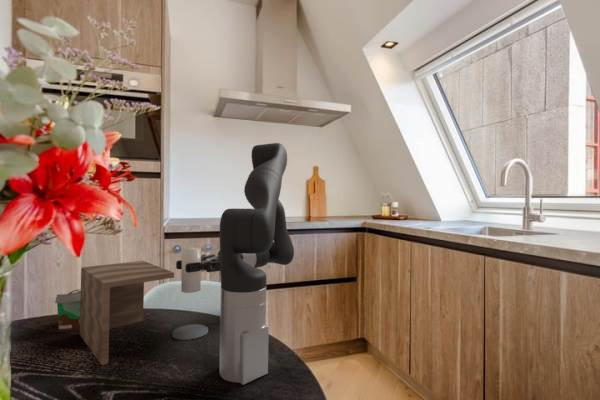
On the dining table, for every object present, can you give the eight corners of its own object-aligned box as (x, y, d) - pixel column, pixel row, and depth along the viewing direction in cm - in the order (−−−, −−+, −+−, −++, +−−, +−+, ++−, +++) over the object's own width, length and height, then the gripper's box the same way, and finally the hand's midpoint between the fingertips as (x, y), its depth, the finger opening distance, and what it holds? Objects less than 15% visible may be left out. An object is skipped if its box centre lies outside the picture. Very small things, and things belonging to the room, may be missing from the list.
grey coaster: (214, 333, 83) (214, 331, 83) (181, 343, 77) (181, 341, 77) (198, 323, 90) (198, 321, 90) (166, 332, 83) (166, 330, 83)
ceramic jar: (203, 290, 83) (204, 248, 83) (186, 293, 80) (187, 250, 80) (195, 286, 87) (195, 246, 87) (178, 290, 83) (178, 248, 83)
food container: (77, 334, 81) (78, 295, 81) (54, 334, 81) (55, 295, 81) (108, 317, 94) (108, 283, 94) (87, 317, 94) (88, 283, 94)
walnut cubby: (172, 343, 77) (174, 272, 77) (101, 365, 66) (103, 282, 66) (141, 319, 92) (142, 260, 92) (79, 334, 81) (81, 267, 81)
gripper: (224, 243, 99) (169, 249, 87) (251, 248, 89) (194, 255, 76) (223, 267, 99) (169, 276, 86) (251, 275, 89) (194, 286, 76)
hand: (181, 266), depth 82 cm, fingers closed on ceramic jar, 4 cm apart
